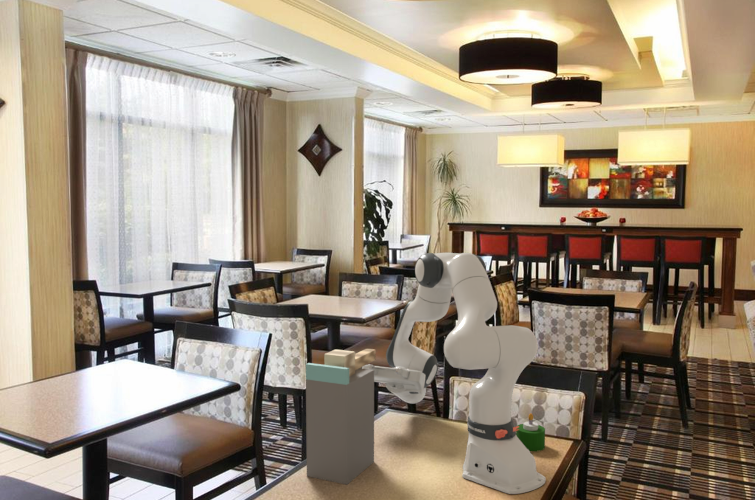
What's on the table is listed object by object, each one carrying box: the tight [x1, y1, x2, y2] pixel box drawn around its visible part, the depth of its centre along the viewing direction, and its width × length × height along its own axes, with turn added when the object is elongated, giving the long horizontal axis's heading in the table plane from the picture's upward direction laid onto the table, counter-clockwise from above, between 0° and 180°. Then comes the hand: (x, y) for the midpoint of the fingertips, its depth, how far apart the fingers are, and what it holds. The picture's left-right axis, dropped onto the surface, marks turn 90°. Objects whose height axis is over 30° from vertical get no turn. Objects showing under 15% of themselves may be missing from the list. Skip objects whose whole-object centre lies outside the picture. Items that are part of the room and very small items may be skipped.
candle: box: [516, 413, 546, 453], centre depth 192 cm, size 8×8×10 cm
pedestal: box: [305, 362, 375, 485], centre depth 175 cm, size 16×12×30 cm
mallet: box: [323, 348, 377, 376], centre depth 181 cm, size 22×6×6 cm, turn 155°
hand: (383, 368), depth 199 cm, fingers open, 8 cm apart
